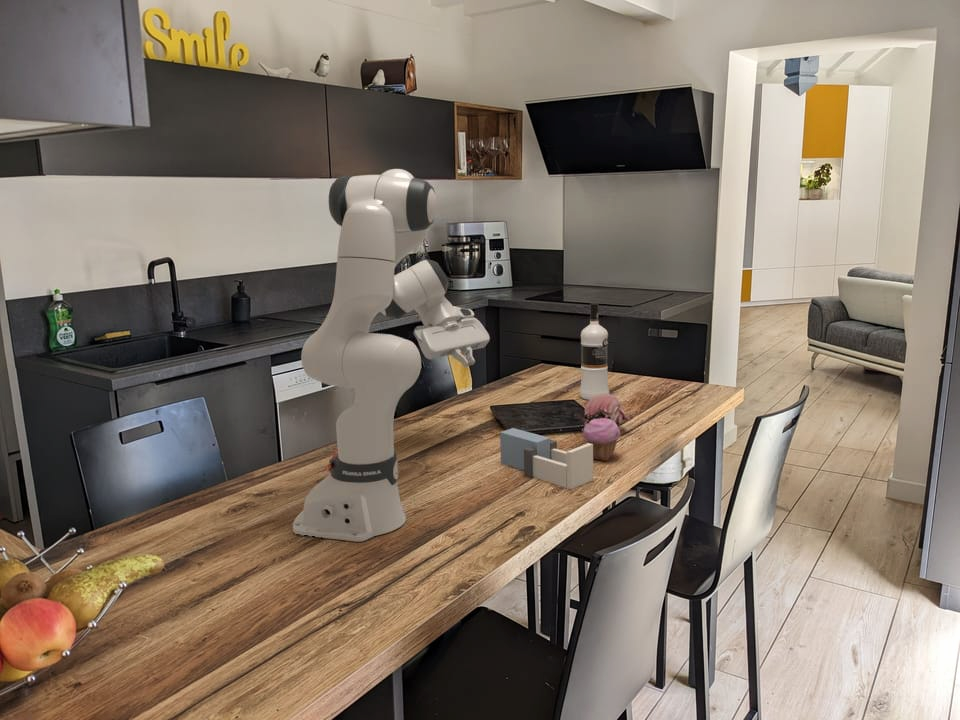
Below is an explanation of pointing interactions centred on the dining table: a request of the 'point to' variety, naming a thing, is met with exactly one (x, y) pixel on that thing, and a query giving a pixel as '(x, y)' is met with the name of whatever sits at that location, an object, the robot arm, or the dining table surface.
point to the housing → (561, 465)
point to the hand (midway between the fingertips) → (469, 364)
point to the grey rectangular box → (521, 446)
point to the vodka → (594, 357)
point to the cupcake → (602, 437)
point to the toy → (604, 409)
